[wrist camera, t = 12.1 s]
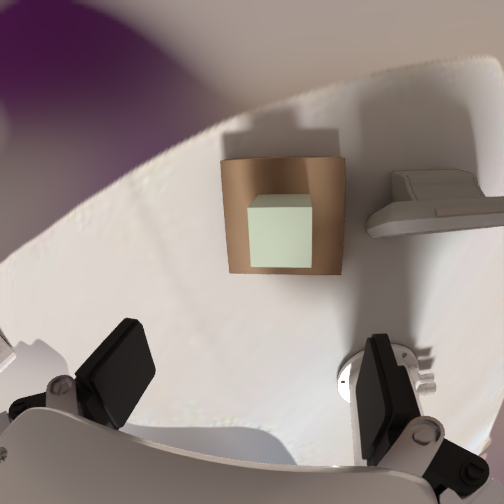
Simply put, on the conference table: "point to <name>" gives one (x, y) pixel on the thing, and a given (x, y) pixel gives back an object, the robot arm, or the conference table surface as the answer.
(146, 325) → the conference table surface
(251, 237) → the sage block
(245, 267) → the wooden square slab
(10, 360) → the photo printer
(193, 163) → the conference table surface
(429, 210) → the digital clock
